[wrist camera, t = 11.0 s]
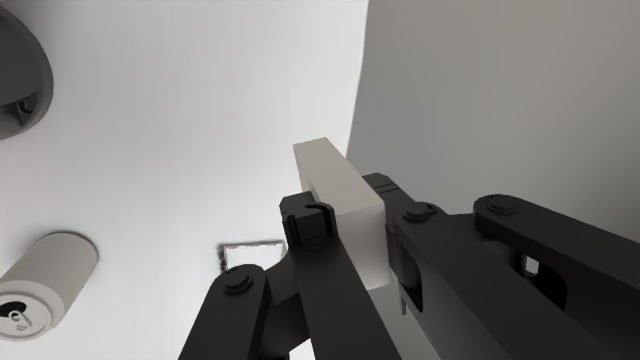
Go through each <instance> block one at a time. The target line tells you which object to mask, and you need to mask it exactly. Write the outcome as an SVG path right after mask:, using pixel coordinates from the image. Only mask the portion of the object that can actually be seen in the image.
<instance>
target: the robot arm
mask: <svg viewBox="0 0 640 360" xmlns="http://www.w3.org/2000/svg"><path fill="white" fill-rule="evenodd" d="M52 93H53V79H52V73H51V69H50V65H49V62H48V60H47V57H46V55H45V53H44V51H43V49H42V48H41V46H40V44H39V43H38V41H37V40H36V39H35V37H34V36H33V35H32V34H31V32H30V31H29V30H28V29H27V28H26V27H25V26H24V25H23V24H22V23H21V22H20V21H19V20H18V19H17V18H16V17H14V16H13V15H12V14H11V13H9V12H8V11H6V10H5V9H4V8H2V7H0V140H3V139H6V138H9V137H12V136H14V135H17V134H19V133H22V132H24V131H26V130H28V129H29V128H31V127H32V126H34V125H35V124H36V123H37V122H38V121H39V120H40V119H41V118H42V117H43V116H44V114H45V113H46V111H47V109H48V107H49V105H50V102H51V99H52ZM293 149H294V153H295V158H296V162H297V167H298V172H299V176H300V181H301V186H302V190H303V193H299V194H295V195H291V196H287V197H283V199H282V201H281V203H280V205H279V207H280V211H281V215H282V223H283V227H284V231H285V235H286V239H287V243H288V251H287V254H286V255H285V256H284V258H283V259H282V260H281V261H280V262H278V263H277V264H275V265H274V266H272V267H271V268H269V269H267V270H265V271H264V270H263V269H262V267H260V266H257V265H255V264H243V265H239V266H235V267H233V268H231V269H229V270H227V271H224V272H223V273H222V274H221V275H219V276H218V277H217V278H216V279H215V280H214V282H213V283H212V285H211V286H210V288H209V291H208V293H207V295H206V297H205V300H204V302H203V304H202V306H201V309H200V311H199V313H198V315H197V318H196V320H195V322H194V324H193V327H192V329H191V331H190V333H189V336H188V338H187V340H186V342H185V345H184V347H183V349H182V351H181V354H180V356H179V358H178V360H290V355H289V352H290V351H291V350H293V349H294V348H296V347H297V346H299V345H300V344H302V343H303V342H305V341H306V340H308V339H309V338H310V339H311V343H312V347H313V351H314V356H315V360H402V359H401V357H400V355H399V353H398V351H397V349H396V347H395V345H394V343H393V341H392V339H391V337H390V335H389V333H388V331H387V329H386V327H385V325H384V323H383V321H382V319H381V317H380V315H379V314H378V312H377V310H376V308H375V306H374V304H373V302H372V300H371V298H370V296H369V294H368V292H367V290H370V289H374V288H377V287H380V286H383V285H387V284H390V283H392V273H391V268H392V270H393V271H394V273H395V274H396V276H397V277H398V285H399V297H400V307H401V311H402V315H405V314H406V304H407V306H408V307H409V309H410V311H411V312H412V314H413V315H414V317H415V319H416V320H417V321H418V323H419V325H420V326H421V328H422V329H423V331H424V333H425V334H426V336H427V338H428V339H429V341H430V342H431V344H432V346H433V347H434V349H435V350H436V352H437V354H438V355H439V357H440V358H441V360H640V243H637V242H635V241H632V240H630V239H627V238H624V237H622V236H619V235H616V234H614V233H611V232H608V231H605V230H603V229H600V228H597V227H595V226H592V225H589V224H587V223H584V222H582V221H579V220H576V219H574V218H571V217H568V216H566V215H563V214H560V213H558V212H555V211H552V210H549V209H547V208H544V207H542V206H539V205H536V204H534V203H531V202H528V201H525V200H523V199H520V198H517V197H513V196H509V195H501V194H495V195H487V196H484V197H481V198H479V199H478V200H476V201H475V203H474V206H473V213H470V214H457V215H448V214H447V213H445V212H444V211H443V210H442V209H441V208H439V207H437V206H436V205H434V204H431V203H426V202H415V201H414V200H413V199H412V198H411V197H410V196H409V195H407V194H406V193H405V192H404V191H403V190H402V189H400V187H399V186H398V185H397V184H395V183H394V182H393V181H392V180H391V179H390V178H389V177H388V176H385V175H382V174H379V173H374V174H369V175H365V176H362V177H361V176H360V175H359V174H358V172H357V171H356V170H355V169H354V168H353V167H352V166H351V165H350V164H349V162H348V161H347V160H346V159H345V158H344V157H343V156H342V155H341V153H340V152H339V151H338V150H337V149H336V148H335V147H334V146H333V144H332V143H331V142H330V141H329V140H328V139H327V138H326V137H324V138H320V139H316V140H311V141H307V142H303V143H299V144H294V145H293ZM527 256H529V257H530V258H532V259H534V260H536V261H538V262H539V267H538V273H537V274H534V273H531V272H529V271H527V270H526V261H527Z"/></svg>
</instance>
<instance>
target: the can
mask: <svg viewBox="0 0 640 360" xmlns="http://www.w3.org/2000/svg"><path fill="white" fill-rule="evenodd" d="M97 262H98V259H97V253H96V251H95V249H94V247H93V246H92V245H91V244H90V243H89V242H88V241H87V240H85V239H83V238H81V237H79V236H76V235H73V234H69V233H55V234H51V235H47V236H45V237H43V238H42V239H40V240H39V241H38V242H37V243H36V244H35V245H34V246H33V247H32V248H31V249H30V250H28V251H27V252H26V253H25V254H24V255H23V256H22V257H21V258H20V259H19V260H18V261H17V262H16V263H15V264H14V265H13V266H12V267H11V268H10V269H9V270H8V271H7V272H6V273H5V274H4V275H3V276H2V277H1V278H0V339H2V340H7V341H13V342H18V341H28V340H32V339H36V338H38V337H39V336H41V335H43V334H44V333H45V332H47V331H49V330H51V329H53V328H55V327H56V326H57V325H58V324H59V323H60V322H61V321H62V319H63V318H64V316H65V315H66V313H67V311H68V310H69V308H70V307H71V305H72V304H73V302H74V301H75V299H76V297H77V296H78V294H79V293H80V291H81V290H82V288H83V287H84V285H85V283H86V282H87V280H88V279H89V277H90V276H91V274H92V273H93V271H94V269H95V268H96V265H97Z"/></svg>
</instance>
